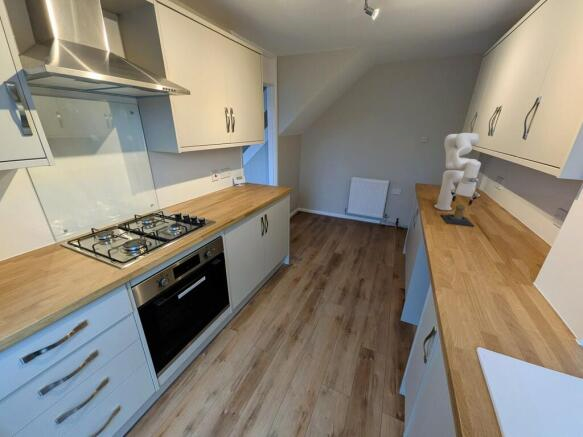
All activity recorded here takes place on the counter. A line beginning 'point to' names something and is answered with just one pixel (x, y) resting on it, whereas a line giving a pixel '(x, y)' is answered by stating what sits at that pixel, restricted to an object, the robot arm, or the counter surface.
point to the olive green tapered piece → (459, 212)
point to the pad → (456, 220)
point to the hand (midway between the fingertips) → (461, 203)
